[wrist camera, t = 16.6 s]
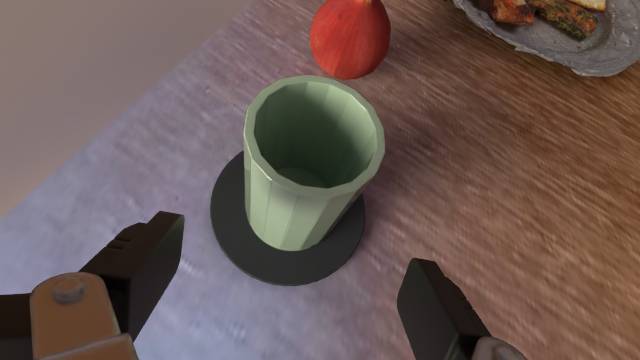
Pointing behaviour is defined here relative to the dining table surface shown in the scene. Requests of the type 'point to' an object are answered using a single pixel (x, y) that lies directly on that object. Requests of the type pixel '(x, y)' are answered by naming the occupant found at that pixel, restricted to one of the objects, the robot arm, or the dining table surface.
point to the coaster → (265, 258)
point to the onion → (350, 37)
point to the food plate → (565, 30)
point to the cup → (307, 158)
